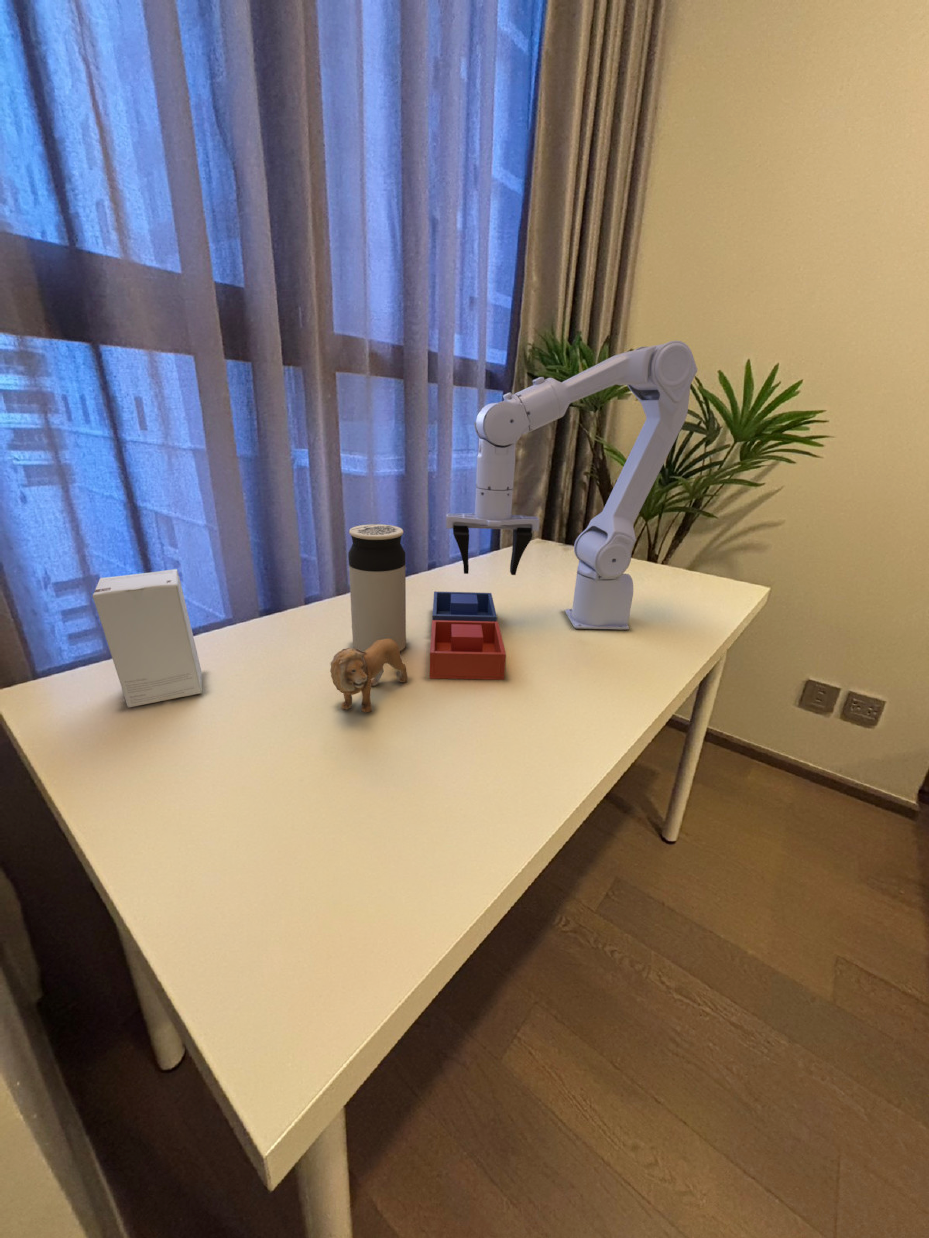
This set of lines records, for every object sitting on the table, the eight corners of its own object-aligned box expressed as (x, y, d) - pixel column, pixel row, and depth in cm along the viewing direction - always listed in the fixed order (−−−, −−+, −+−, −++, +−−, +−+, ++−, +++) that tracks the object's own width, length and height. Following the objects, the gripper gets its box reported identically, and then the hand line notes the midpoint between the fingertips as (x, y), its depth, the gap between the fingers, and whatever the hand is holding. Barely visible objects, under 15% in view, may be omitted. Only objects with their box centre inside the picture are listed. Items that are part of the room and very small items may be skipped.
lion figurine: (363, 733, 57) (360, 662, 53) (322, 723, 58) (316, 653, 55) (414, 673, 70) (414, 613, 66) (379, 666, 71) (377, 607, 67)
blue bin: (490, 612, 91) (491, 592, 90) (495, 639, 81) (497, 616, 79) (433, 611, 91) (434, 591, 89) (432, 638, 81) (432, 615, 79)
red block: (479, 651, 76) (481, 624, 74) (481, 665, 72) (483, 637, 70) (450, 650, 76) (451, 623, 74) (450, 664, 72) (451, 636, 70)
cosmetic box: (202, 674, 67) (182, 567, 61) (202, 696, 62) (180, 582, 56) (128, 686, 64) (99, 574, 58) (122, 710, 59) (90, 590, 53)
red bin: (496, 644, 79) (498, 621, 78) (504, 679, 69) (506, 654, 67) (431, 642, 79) (432, 619, 77) (429, 678, 69) (429, 652, 67)
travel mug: (416, 647, 77) (417, 531, 70) (375, 663, 72) (370, 539, 65) (383, 631, 82) (381, 521, 75) (342, 645, 77) (335, 528, 70)
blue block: (475, 618, 88) (476, 594, 86) (476, 628, 84) (478, 603, 82) (450, 617, 88) (450, 593, 86) (450, 627, 84) (451, 602, 82)
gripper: (447, 490, 73) (445, 579, 78) (546, 493, 74) (537, 581, 79) (447, 483, 80) (445, 565, 85) (538, 486, 80) (530, 568, 86)
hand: (489, 572), depth 82 cm, fingers open, 7 cm apart
